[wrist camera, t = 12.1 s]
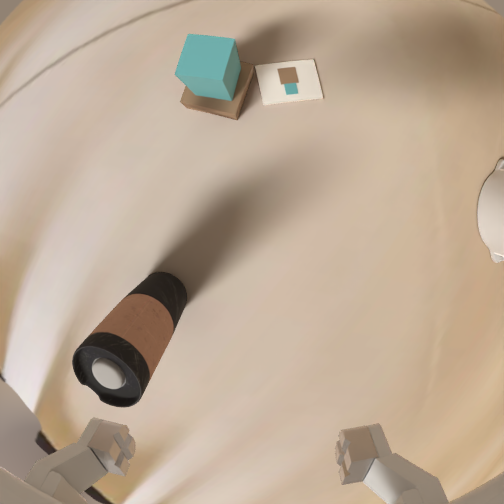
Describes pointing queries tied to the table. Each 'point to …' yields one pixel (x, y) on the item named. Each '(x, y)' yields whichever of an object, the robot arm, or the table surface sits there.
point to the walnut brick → (219, 105)
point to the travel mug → (131, 341)
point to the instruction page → (288, 82)
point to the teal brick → (209, 66)
